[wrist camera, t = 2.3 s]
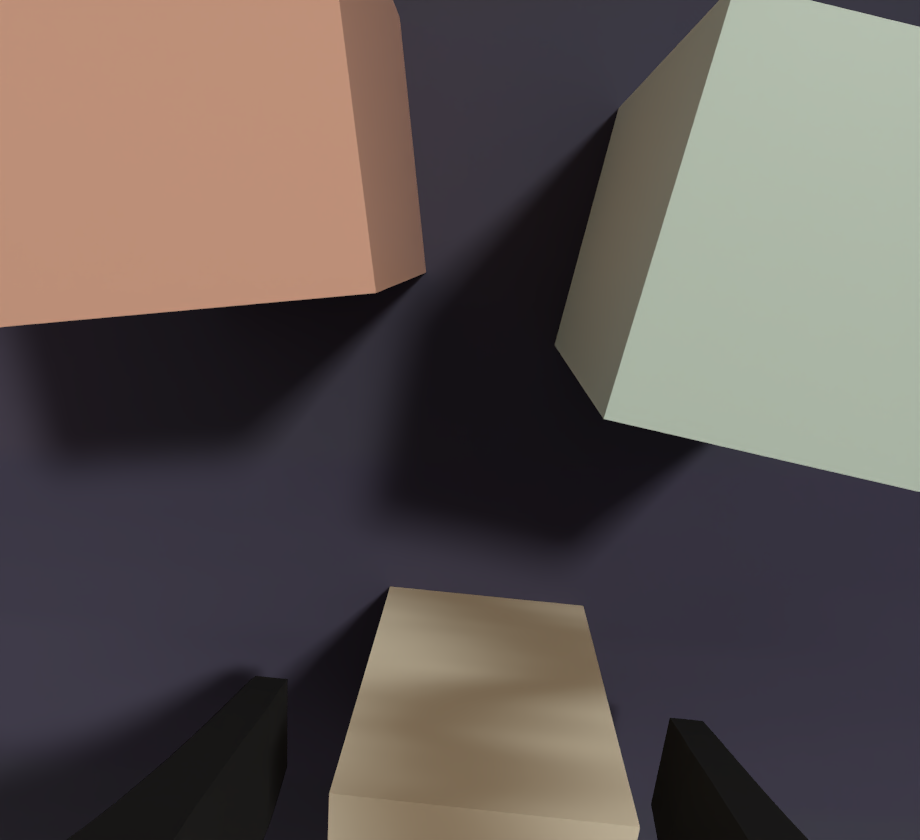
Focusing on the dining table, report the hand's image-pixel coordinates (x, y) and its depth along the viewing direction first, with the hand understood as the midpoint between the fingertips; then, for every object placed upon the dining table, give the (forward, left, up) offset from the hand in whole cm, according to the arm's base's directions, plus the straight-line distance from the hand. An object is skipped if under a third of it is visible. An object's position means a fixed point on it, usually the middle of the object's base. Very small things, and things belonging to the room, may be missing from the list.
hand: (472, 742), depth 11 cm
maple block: (0, 0, -2) cm, 2 cm away
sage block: (-3, -9, -2) cm, 10 cm away
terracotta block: (+4, -10, -2) cm, 11 cm away
